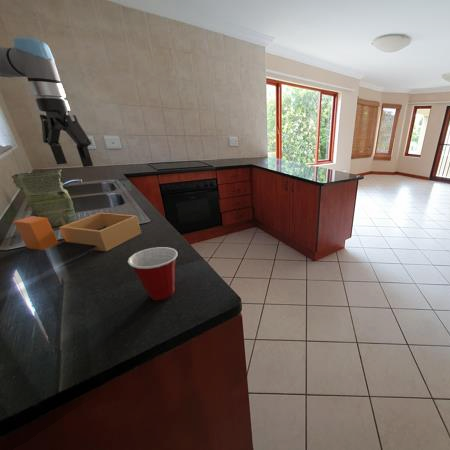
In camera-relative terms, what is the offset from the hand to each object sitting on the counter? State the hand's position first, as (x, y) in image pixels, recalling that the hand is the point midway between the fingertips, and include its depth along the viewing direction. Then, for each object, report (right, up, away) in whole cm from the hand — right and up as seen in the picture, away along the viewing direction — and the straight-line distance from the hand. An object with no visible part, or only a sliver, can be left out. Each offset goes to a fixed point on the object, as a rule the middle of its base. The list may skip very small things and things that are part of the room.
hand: (75, 165), depth 85 cm
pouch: (-22, -23, +17) cm, 36 cm away
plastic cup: (+44, -40, -21) cm, 63 cm away
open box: (+4, -27, +8) cm, 29 cm away
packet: (-11, -31, 0) cm, 32 cm away
